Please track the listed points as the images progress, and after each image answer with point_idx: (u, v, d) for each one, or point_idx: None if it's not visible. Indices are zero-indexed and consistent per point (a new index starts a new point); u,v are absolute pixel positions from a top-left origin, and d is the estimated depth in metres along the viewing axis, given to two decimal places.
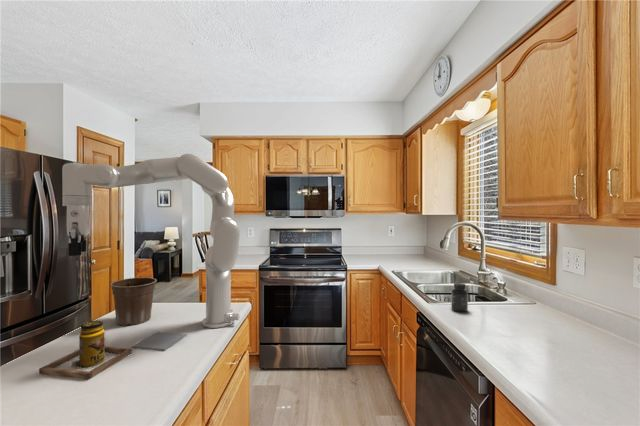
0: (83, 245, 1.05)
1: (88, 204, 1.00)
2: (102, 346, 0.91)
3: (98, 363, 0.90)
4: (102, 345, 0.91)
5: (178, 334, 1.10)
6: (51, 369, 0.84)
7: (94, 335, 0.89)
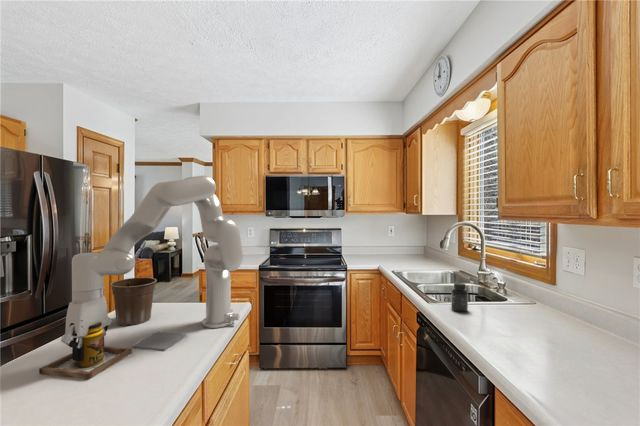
0: None
1: None
2: (101, 346, 0.91)
3: (97, 364, 0.90)
4: (100, 345, 0.91)
5: (178, 334, 1.10)
6: (51, 369, 0.84)
7: (93, 335, 0.89)
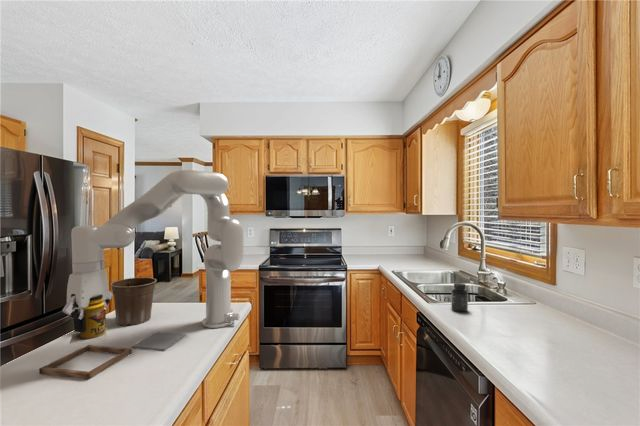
0: None
1: None
2: (102, 319, 0.91)
3: (99, 335, 0.90)
4: (102, 318, 0.91)
5: (178, 334, 1.10)
6: (51, 369, 0.84)
7: (94, 307, 0.89)
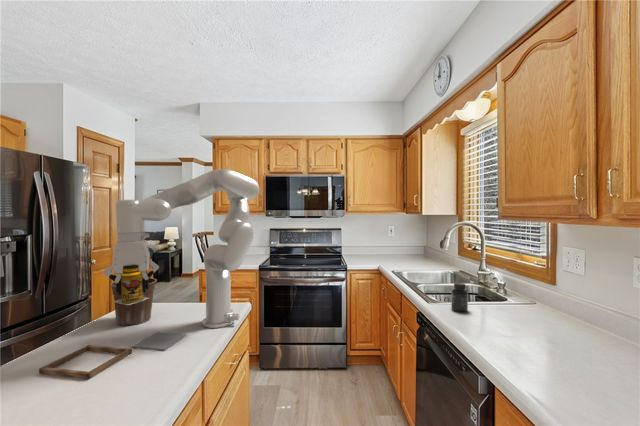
0: None
1: None
2: (133, 288, 0.96)
3: (129, 302, 0.96)
4: (132, 287, 0.96)
5: (178, 334, 1.10)
6: (51, 369, 0.84)
7: (125, 275, 0.96)
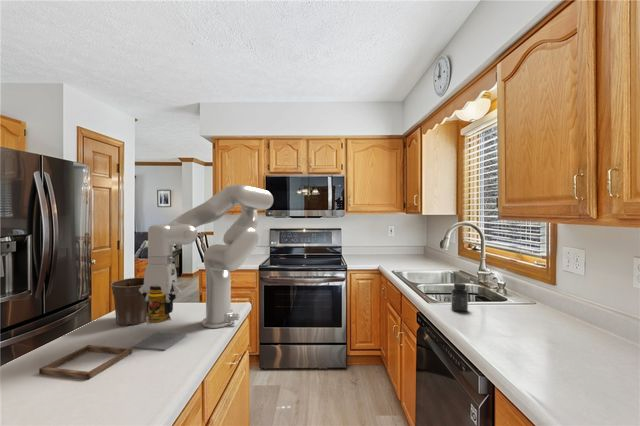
0: None
1: None
2: (154, 308, 1.02)
3: (150, 321, 1.02)
4: (153, 307, 1.02)
5: (178, 334, 1.10)
6: (51, 369, 0.84)
7: (149, 295, 1.03)
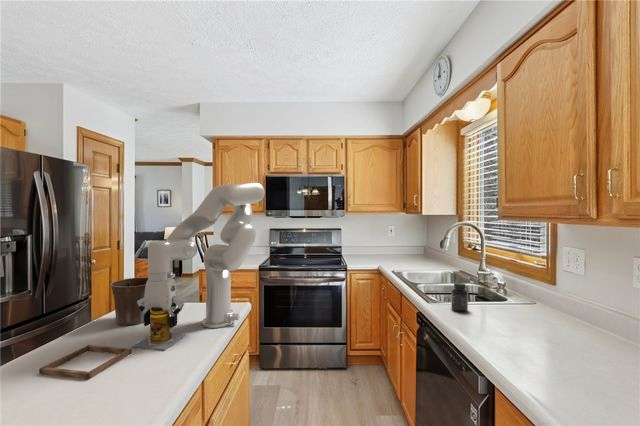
0: None
1: None
2: (155, 329, 1.02)
3: (152, 342, 1.03)
4: (155, 328, 1.02)
5: (178, 334, 1.10)
6: (51, 369, 0.84)
7: (150, 316, 1.03)
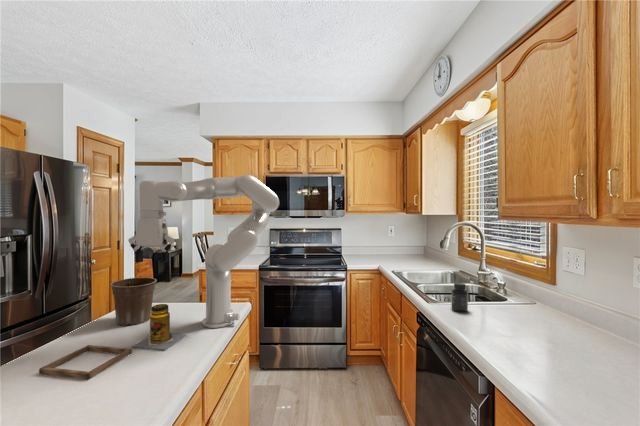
0: (142, 255, 1.12)
1: None
2: (155, 329, 1.02)
3: (152, 342, 1.03)
4: (155, 328, 1.02)
5: (178, 334, 1.10)
6: (51, 369, 0.84)
7: (150, 316, 1.03)
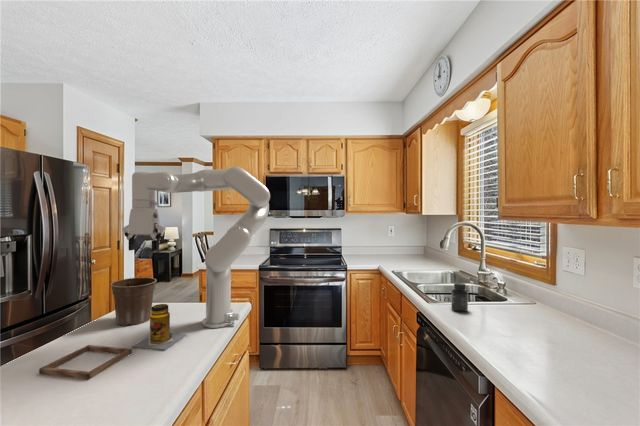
0: (135, 244, 1.17)
1: None
2: (155, 329, 1.02)
3: (152, 342, 1.03)
4: (155, 328, 1.02)
5: (178, 334, 1.10)
6: (51, 369, 0.84)
7: (150, 316, 1.03)
